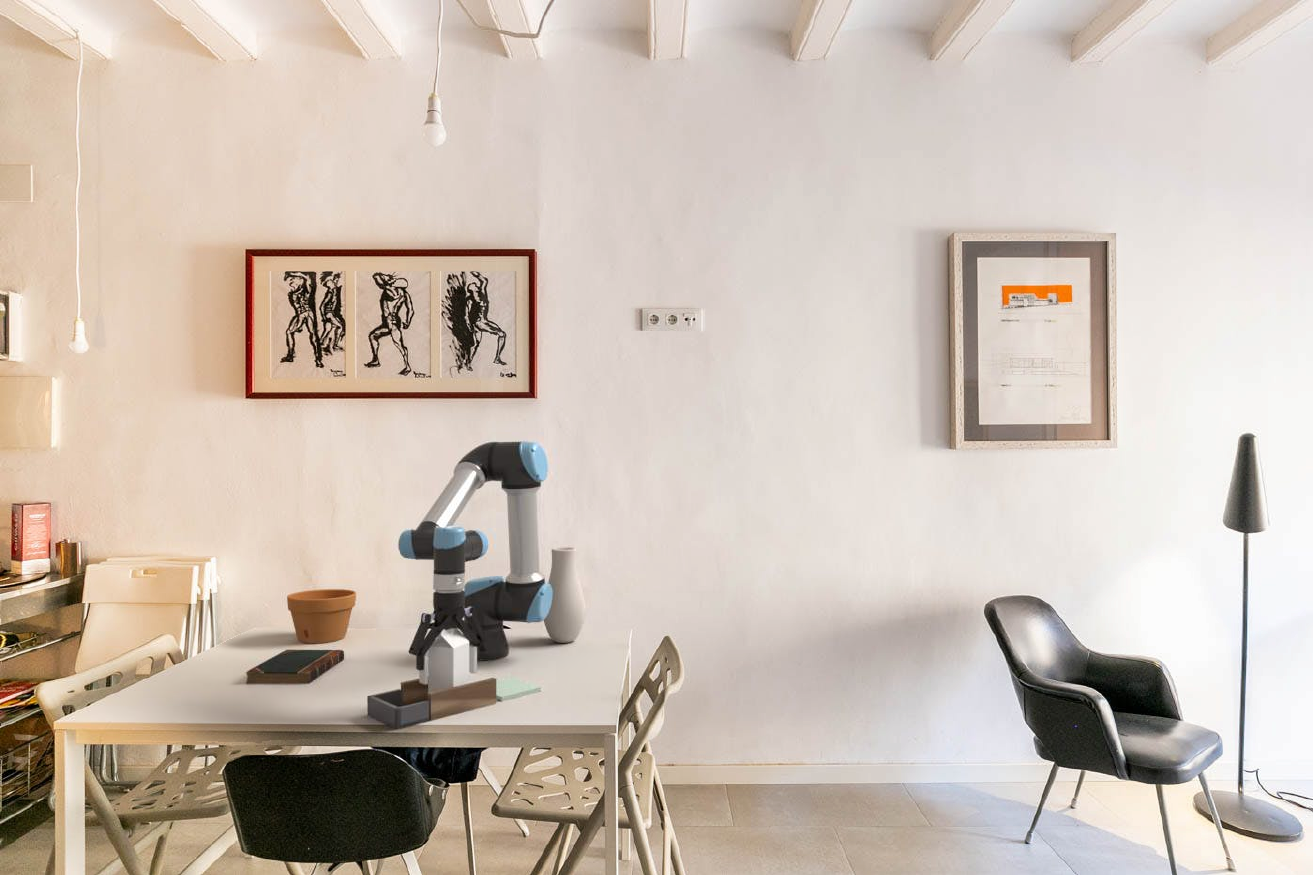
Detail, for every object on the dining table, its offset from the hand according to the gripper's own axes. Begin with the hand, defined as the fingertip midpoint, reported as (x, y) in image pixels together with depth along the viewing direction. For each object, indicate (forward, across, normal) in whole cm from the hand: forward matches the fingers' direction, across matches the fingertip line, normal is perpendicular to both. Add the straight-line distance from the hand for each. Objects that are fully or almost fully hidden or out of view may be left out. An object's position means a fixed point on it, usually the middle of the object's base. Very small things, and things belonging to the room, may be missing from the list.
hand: (448, 677), depth 203 cm
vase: (+6, +62, +32) cm, 70 cm away
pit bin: (+7, -13, 0) cm, 15 cm away
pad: (+7, +17, 0) cm, 18 cm away
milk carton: (+7, 0, 0) cm, 7 cm away
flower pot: (+7, +9, +92) cm, 92 cm away
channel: (+7, 0, 0) cm, 7 cm away
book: (+7, -13, +58) cm, 60 cm away
